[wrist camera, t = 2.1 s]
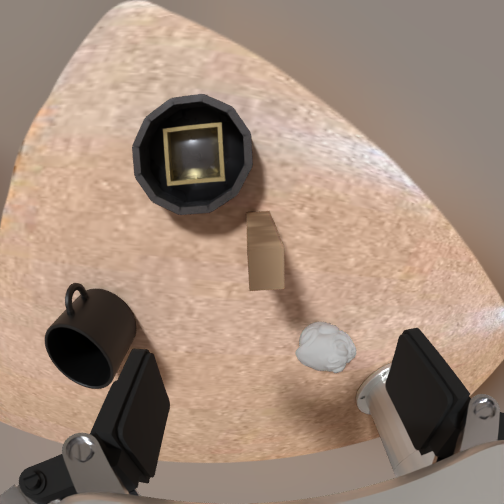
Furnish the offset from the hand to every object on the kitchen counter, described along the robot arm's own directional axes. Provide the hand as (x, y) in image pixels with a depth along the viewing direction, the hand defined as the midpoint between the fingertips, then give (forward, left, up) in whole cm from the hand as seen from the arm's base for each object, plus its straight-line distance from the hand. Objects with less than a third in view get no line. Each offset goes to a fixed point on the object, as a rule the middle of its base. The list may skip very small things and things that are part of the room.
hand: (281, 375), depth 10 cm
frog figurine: (-7, +14, -22) cm, 27 cm away
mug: (+21, +10, -22) cm, 32 cm away
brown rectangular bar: (0, 0, -22) cm, 22 cm away
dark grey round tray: (+6, -8, -22) cm, 24 cm away
